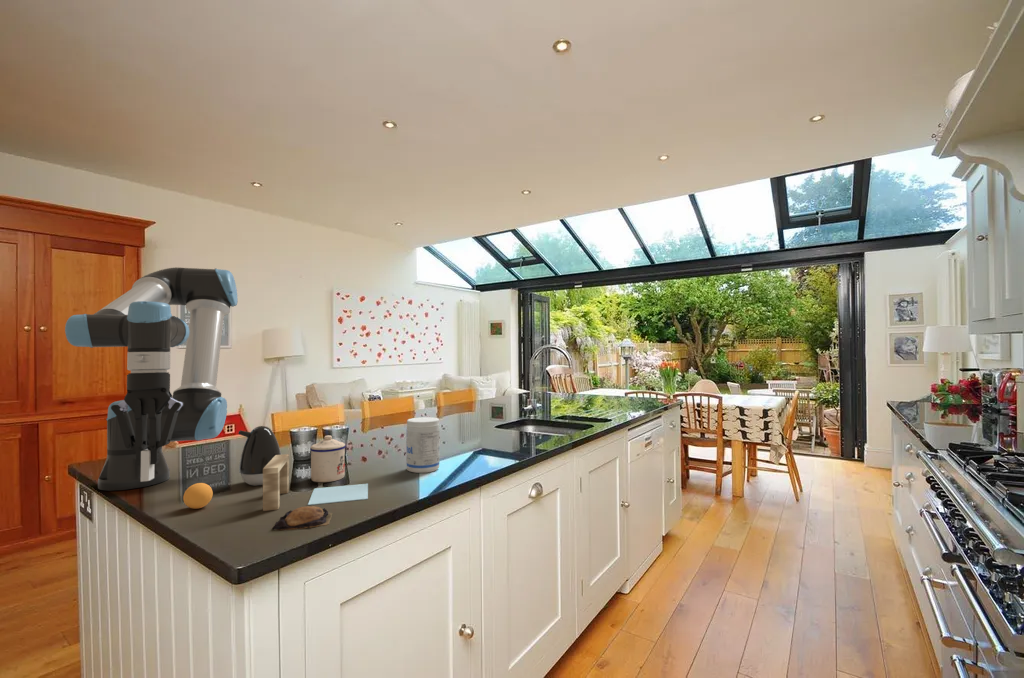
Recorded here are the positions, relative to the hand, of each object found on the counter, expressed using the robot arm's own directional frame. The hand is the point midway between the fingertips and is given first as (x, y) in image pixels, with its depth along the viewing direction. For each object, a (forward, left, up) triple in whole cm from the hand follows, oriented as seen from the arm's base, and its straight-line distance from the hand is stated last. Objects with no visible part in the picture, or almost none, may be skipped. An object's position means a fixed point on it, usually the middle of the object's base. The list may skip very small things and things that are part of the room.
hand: (147, 479), depth 101 cm
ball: (-1, +9, -5) cm, 11 cm away
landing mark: (-1, +39, -7) cm, 40 cm away
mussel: (+17, +33, -8) cm, 38 cm away
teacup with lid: (-19, +35, -8) cm, 41 cm away
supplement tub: (-18, +61, -8) cm, 64 cm away
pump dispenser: (-19, +18, -8) cm, 27 cm away
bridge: (-1, +25, -7) cm, 27 cm away
